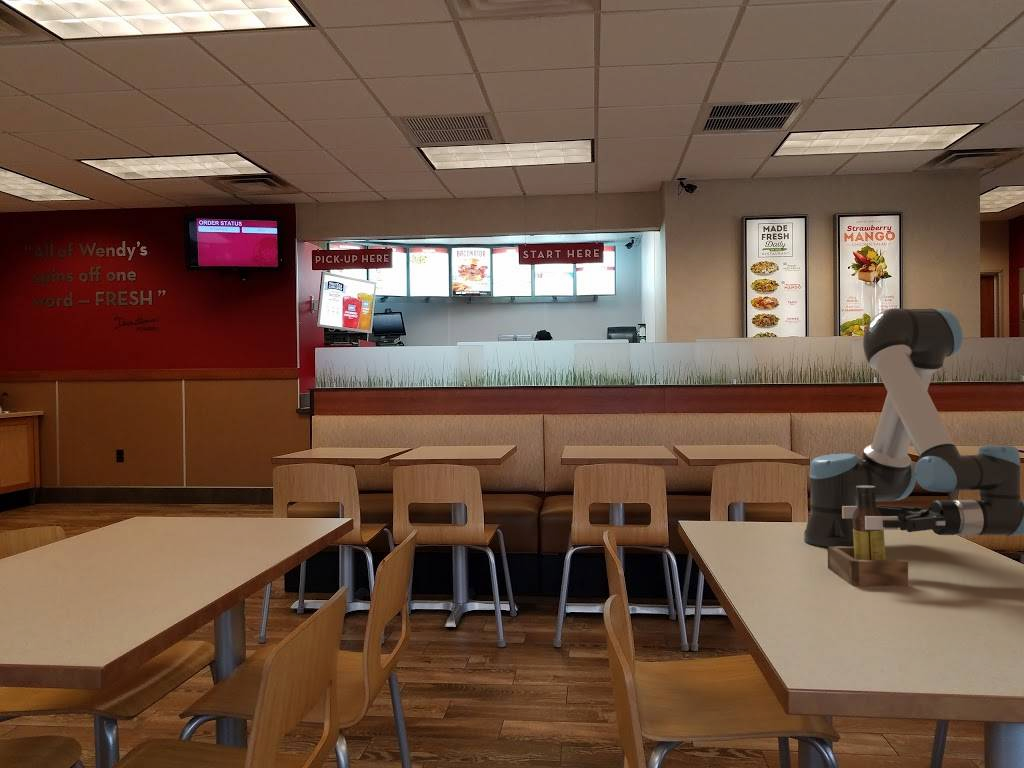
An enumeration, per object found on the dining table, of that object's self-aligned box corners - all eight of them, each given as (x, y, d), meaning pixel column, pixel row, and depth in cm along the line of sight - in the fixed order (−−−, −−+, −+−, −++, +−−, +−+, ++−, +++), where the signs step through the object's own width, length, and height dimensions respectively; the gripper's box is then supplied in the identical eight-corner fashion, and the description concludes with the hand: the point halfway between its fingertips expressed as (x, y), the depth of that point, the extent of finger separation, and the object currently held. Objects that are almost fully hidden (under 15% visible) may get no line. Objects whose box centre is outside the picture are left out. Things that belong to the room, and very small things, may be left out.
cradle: (879, 568, 175) (879, 546, 175) (908, 585, 160) (907, 561, 160) (827, 568, 176) (827, 546, 176) (851, 585, 161) (851, 561, 161)
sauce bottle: (885, 574, 169) (884, 485, 169) (886, 581, 163) (885, 488, 164) (853, 571, 172) (852, 483, 172) (853, 578, 166) (851, 487, 166)
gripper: (985, 546, 154) (876, 546, 155) (927, 524, 179) (834, 524, 180) (984, 509, 154) (876, 509, 155) (927, 492, 179) (834, 492, 180)
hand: (853, 517), depth 168 cm, fingers open, 13 cm apart
